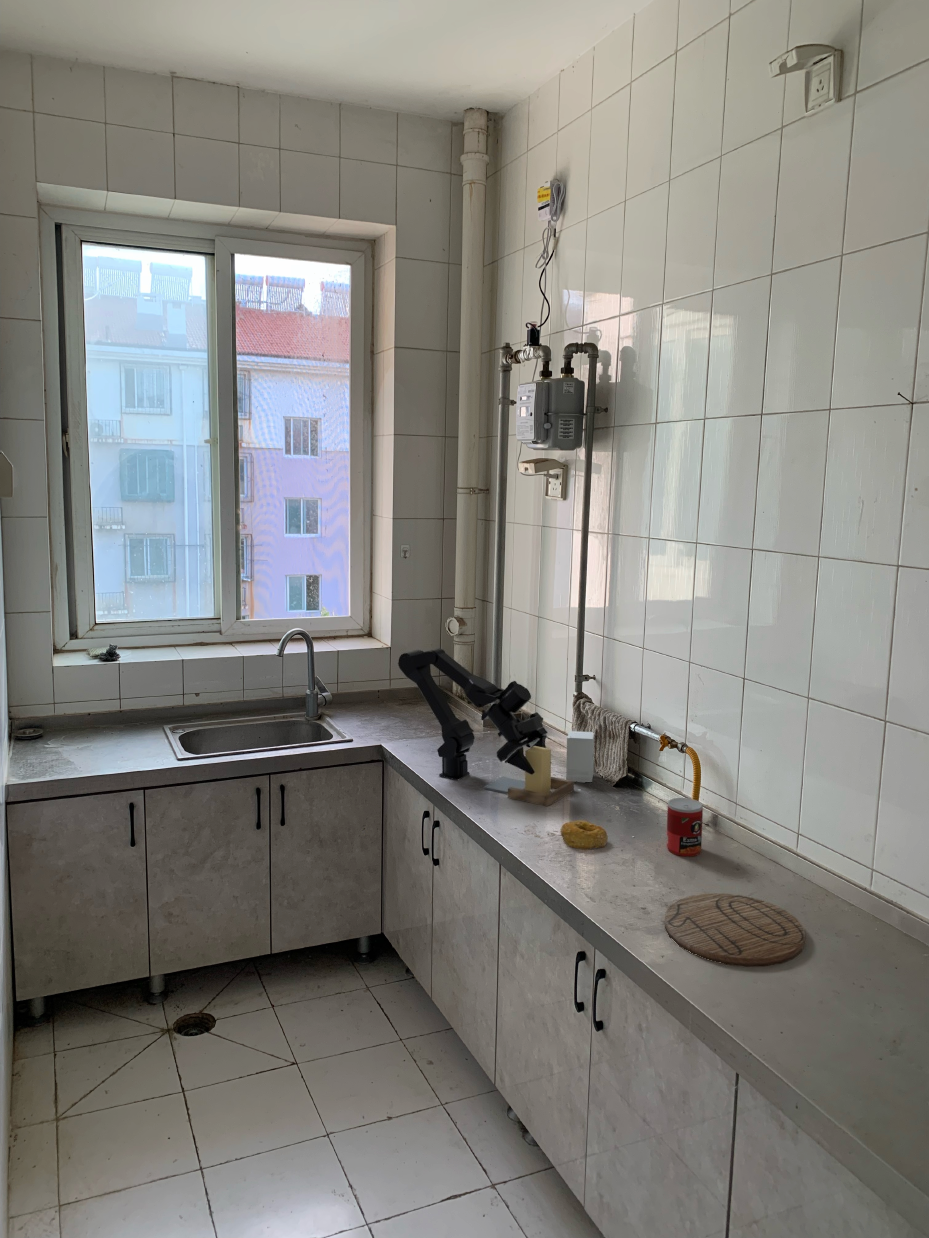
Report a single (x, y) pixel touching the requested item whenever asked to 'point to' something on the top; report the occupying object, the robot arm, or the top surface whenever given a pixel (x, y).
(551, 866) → the top surface
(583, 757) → the supplement box
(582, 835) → the bagel
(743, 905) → the trivet
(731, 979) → the top surface
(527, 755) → the ochre block
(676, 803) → the canned food
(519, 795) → the frame
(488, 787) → the slate mat
